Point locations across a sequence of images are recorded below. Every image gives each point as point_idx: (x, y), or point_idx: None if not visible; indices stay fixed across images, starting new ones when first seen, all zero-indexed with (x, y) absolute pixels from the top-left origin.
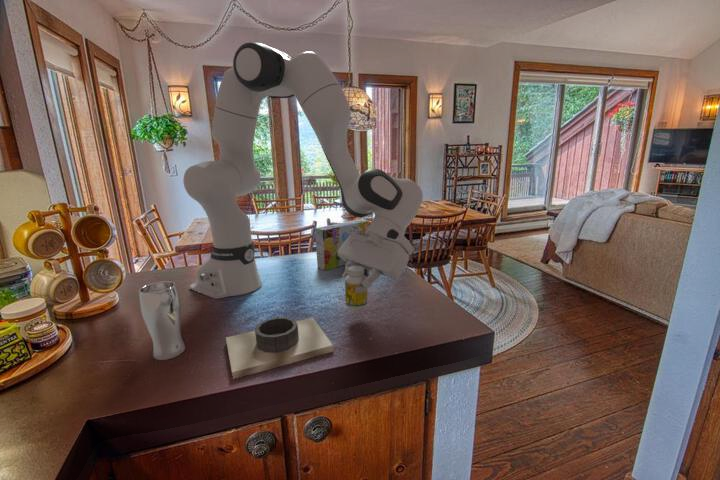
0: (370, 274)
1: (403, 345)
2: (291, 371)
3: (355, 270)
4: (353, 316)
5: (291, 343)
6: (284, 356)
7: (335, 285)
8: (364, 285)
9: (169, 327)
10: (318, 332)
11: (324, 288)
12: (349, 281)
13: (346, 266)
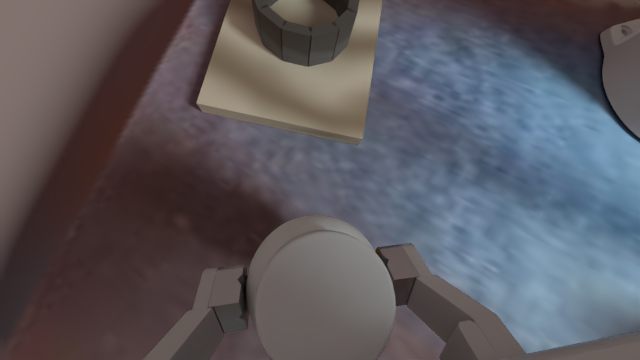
0: (171, 352)
1: (78, 274)
2: (203, 17)
3: (281, 267)
4: None
5: (257, 26)
6: (235, 7)
7: (566, 344)
8: (206, 271)
9: None
10: (276, 108)
11: (557, 295)
12: (296, 219)
13: (456, 297)
